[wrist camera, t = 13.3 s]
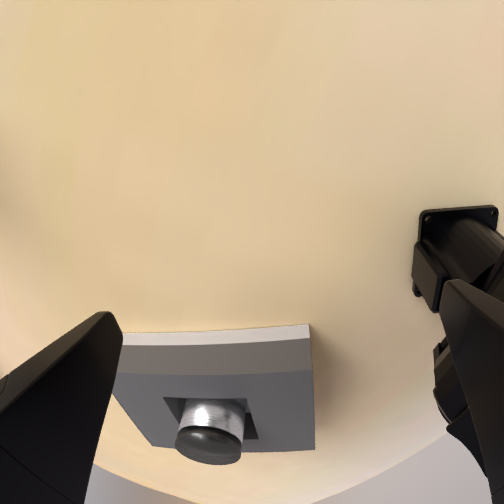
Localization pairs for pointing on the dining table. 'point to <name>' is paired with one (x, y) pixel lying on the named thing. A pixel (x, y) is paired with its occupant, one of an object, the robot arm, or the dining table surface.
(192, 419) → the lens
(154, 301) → the dining table surface
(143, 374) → the grey plate with pocket
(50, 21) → the dining table surface
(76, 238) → the dining table surface
